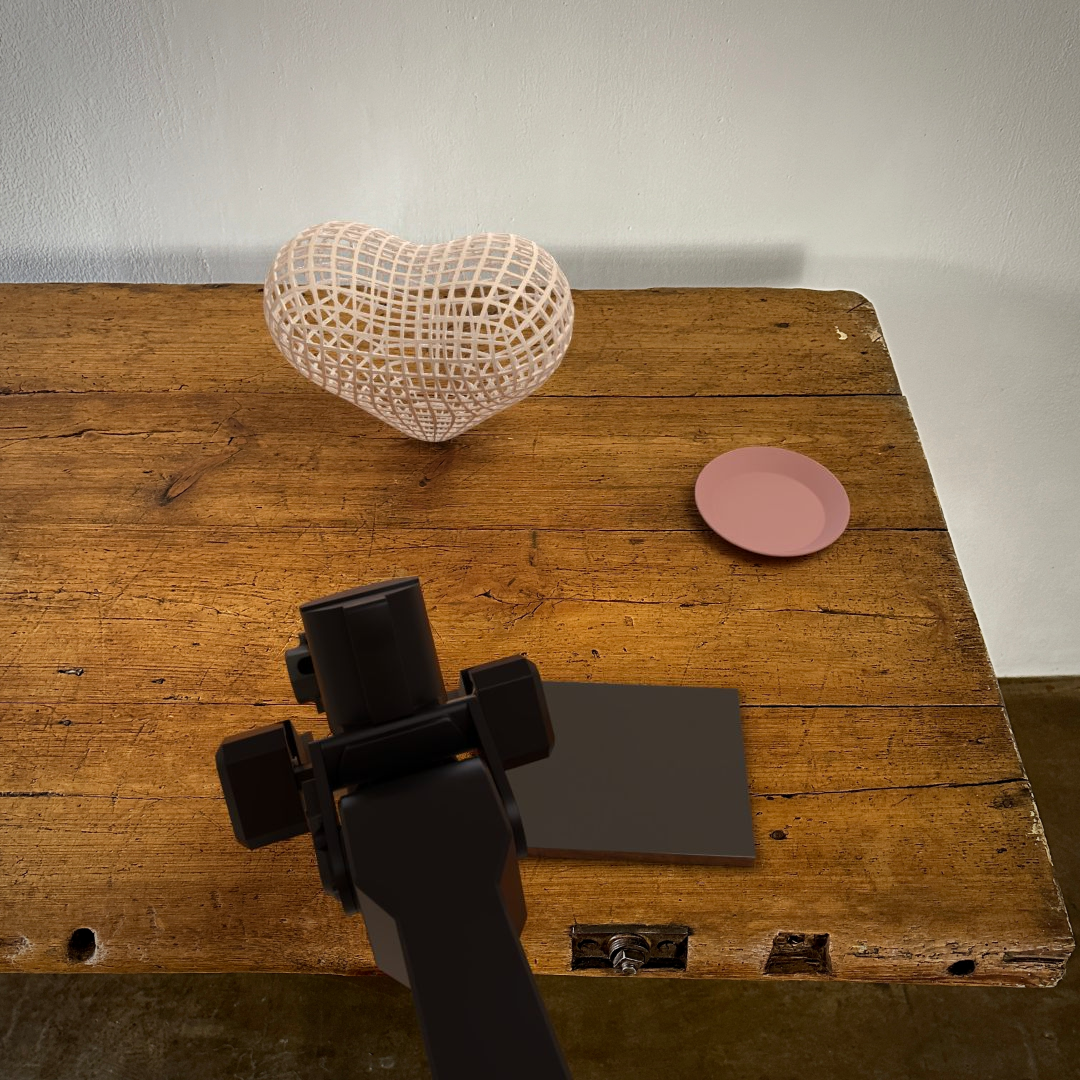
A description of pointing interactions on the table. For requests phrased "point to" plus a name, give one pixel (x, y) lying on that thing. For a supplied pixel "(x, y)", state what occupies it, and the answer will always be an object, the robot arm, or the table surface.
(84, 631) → the table surface
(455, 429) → the heart
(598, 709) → the serving board
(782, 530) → the plate
